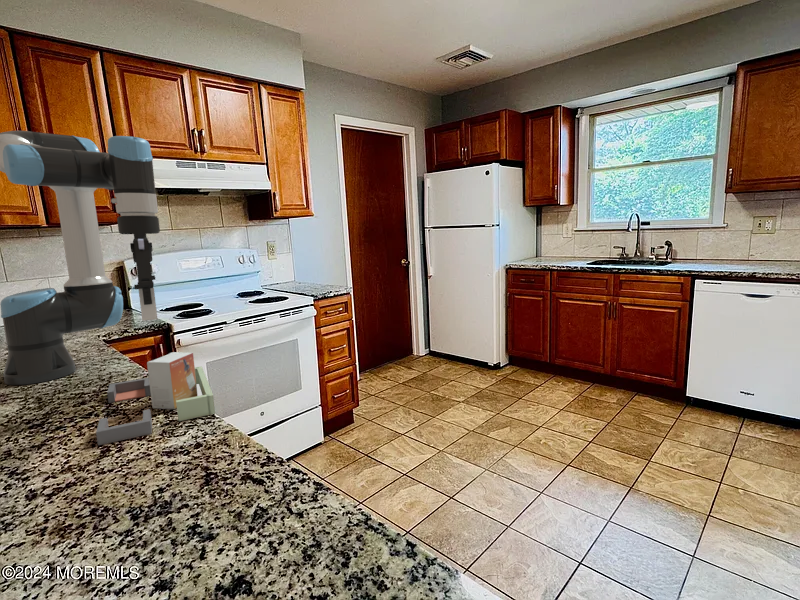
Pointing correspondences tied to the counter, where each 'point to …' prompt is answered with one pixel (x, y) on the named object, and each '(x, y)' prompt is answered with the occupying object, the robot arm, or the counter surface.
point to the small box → (171, 379)
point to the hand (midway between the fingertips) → (149, 314)
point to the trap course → (141, 389)
